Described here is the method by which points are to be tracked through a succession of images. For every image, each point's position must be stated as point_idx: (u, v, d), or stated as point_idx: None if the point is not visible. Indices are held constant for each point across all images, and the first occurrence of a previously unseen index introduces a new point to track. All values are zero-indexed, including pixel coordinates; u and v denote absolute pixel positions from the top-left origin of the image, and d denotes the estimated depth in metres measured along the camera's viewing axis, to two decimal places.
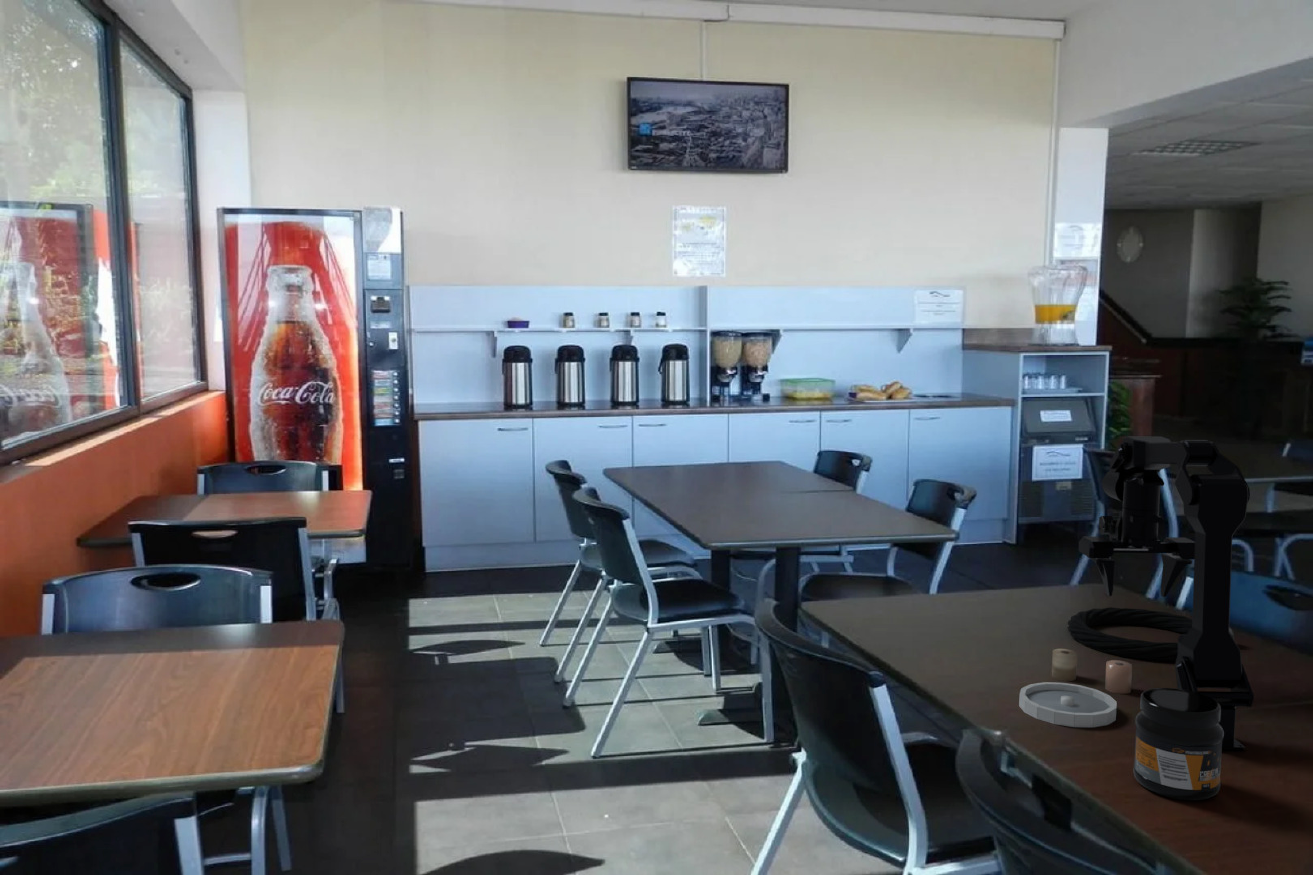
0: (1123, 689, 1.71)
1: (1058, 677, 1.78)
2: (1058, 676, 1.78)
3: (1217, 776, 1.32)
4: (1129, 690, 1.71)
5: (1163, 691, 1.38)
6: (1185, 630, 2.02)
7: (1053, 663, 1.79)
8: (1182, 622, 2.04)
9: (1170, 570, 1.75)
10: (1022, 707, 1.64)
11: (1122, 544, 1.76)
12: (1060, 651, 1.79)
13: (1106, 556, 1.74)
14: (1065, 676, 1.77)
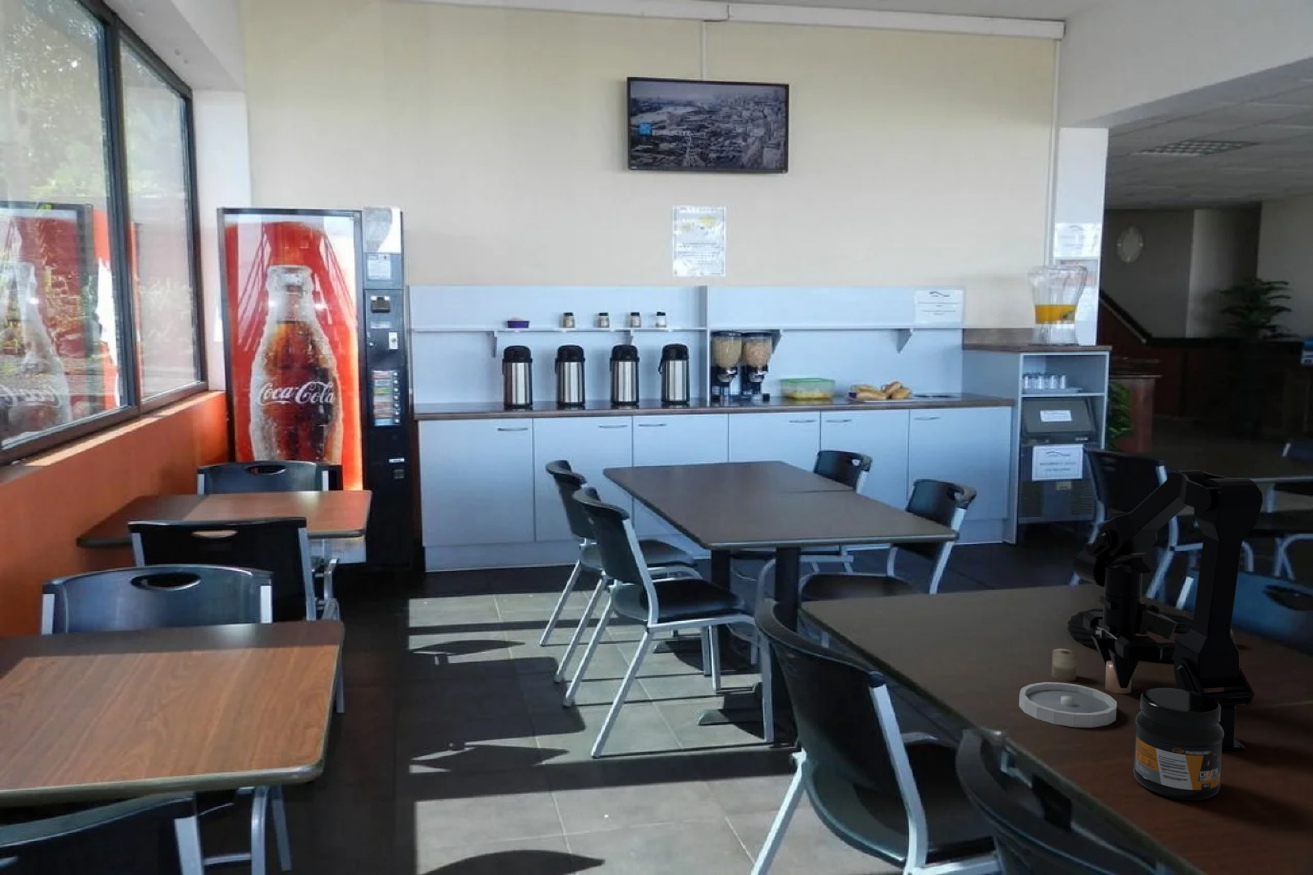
0: (1123, 689, 1.71)
1: (1058, 677, 1.78)
2: (1058, 676, 1.78)
3: (1217, 776, 1.32)
4: (1129, 690, 1.71)
5: (1163, 691, 1.38)
6: (1185, 630, 2.02)
7: (1053, 663, 1.79)
8: (1182, 622, 2.04)
9: None
10: (1022, 707, 1.64)
11: None
12: (1060, 651, 1.79)
13: (1087, 628, 1.79)
14: (1065, 676, 1.77)
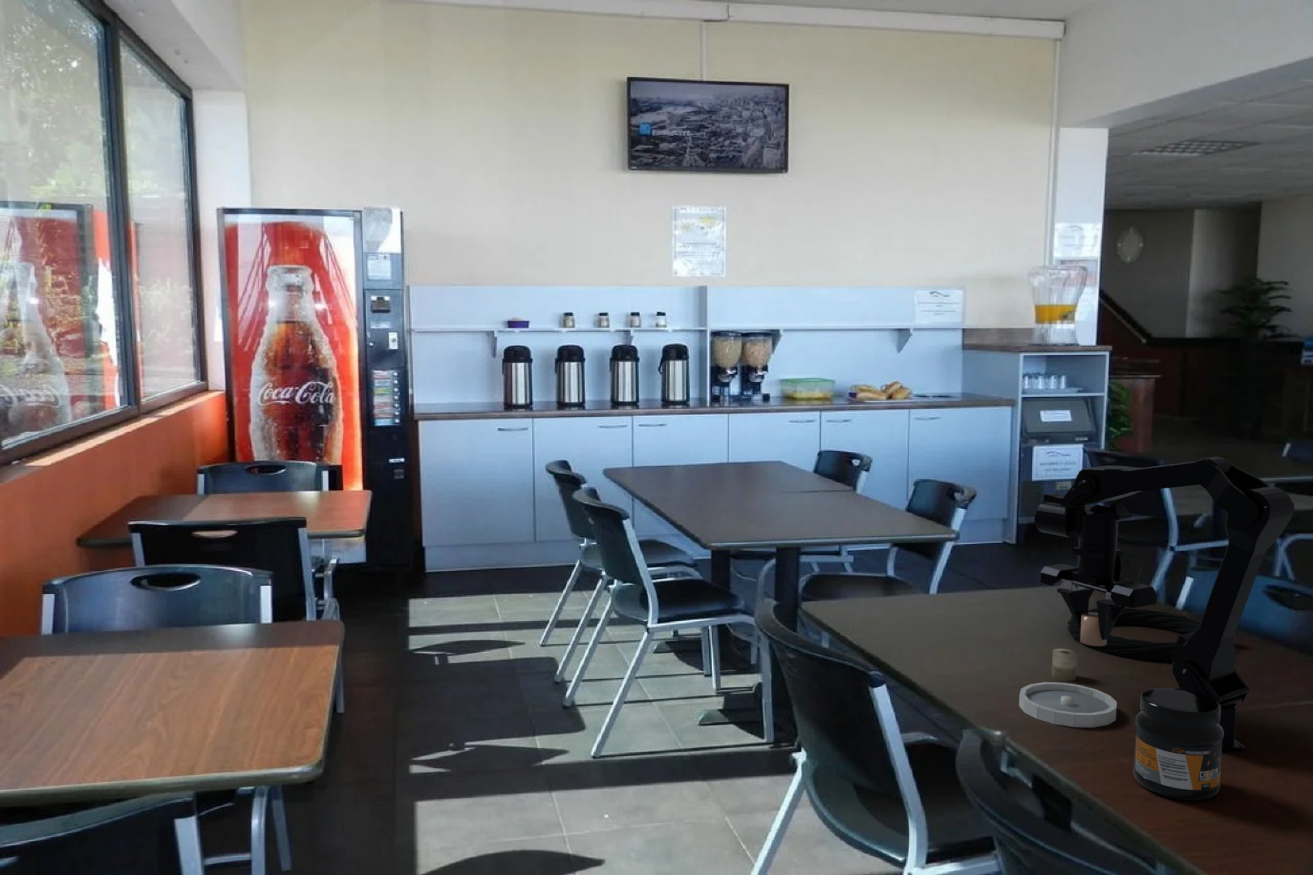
0: (1104, 640, 1.65)
1: (1058, 677, 1.78)
2: (1058, 676, 1.78)
3: (1217, 776, 1.32)
4: (1106, 641, 1.66)
5: (1163, 691, 1.38)
6: (1185, 630, 2.02)
7: (1053, 663, 1.79)
8: (1182, 622, 2.04)
9: None
10: (1022, 707, 1.64)
11: None
12: (1060, 651, 1.79)
13: (1050, 583, 1.70)
14: (1065, 676, 1.77)
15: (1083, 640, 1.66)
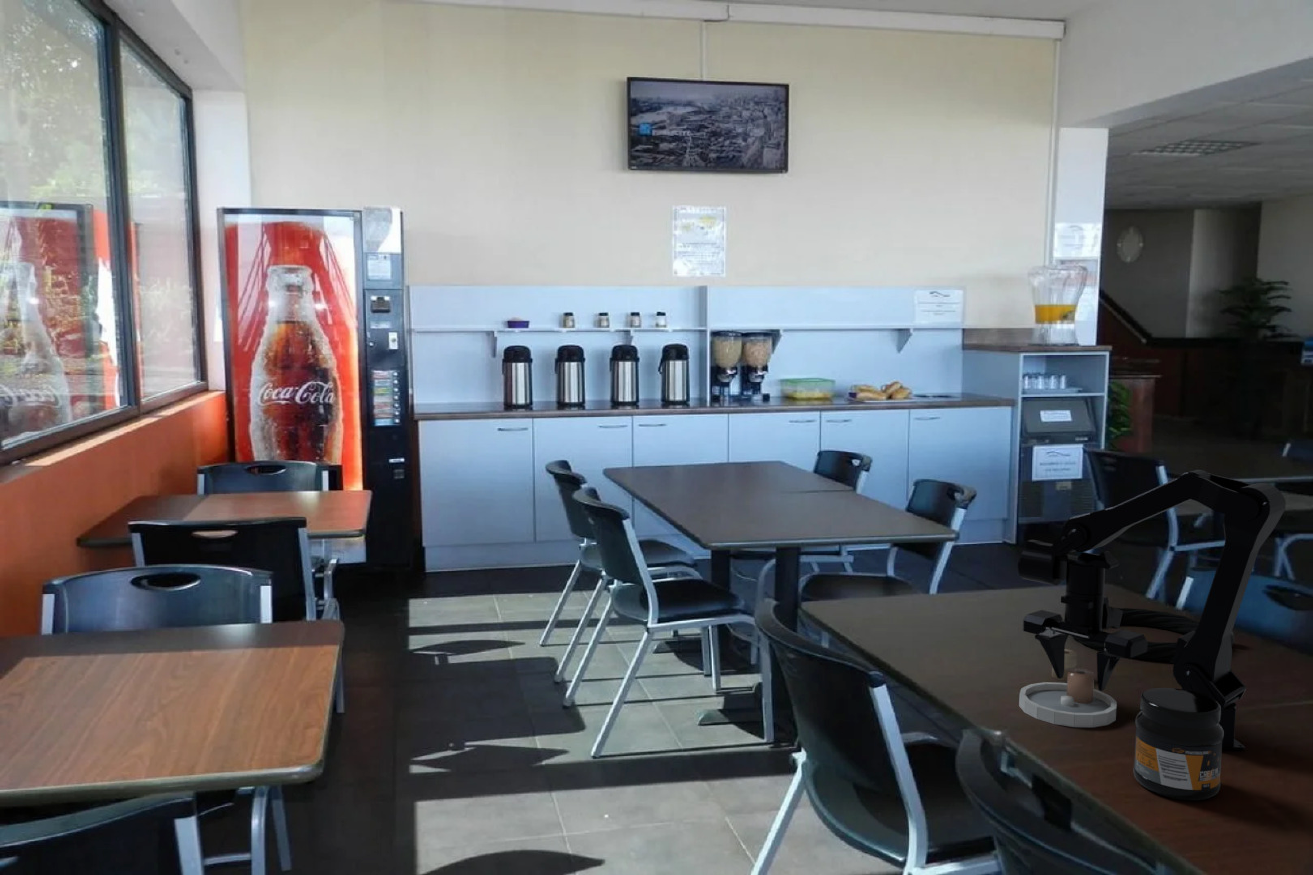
0: (1091, 697, 1.64)
1: None
2: None
3: (1217, 776, 1.32)
4: None
5: (1163, 691, 1.38)
6: (1185, 630, 2.02)
7: None
8: (1182, 622, 2.04)
9: None
10: (1022, 707, 1.64)
11: None
12: None
13: (1035, 632, 1.68)
14: (1065, 676, 1.77)
15: None
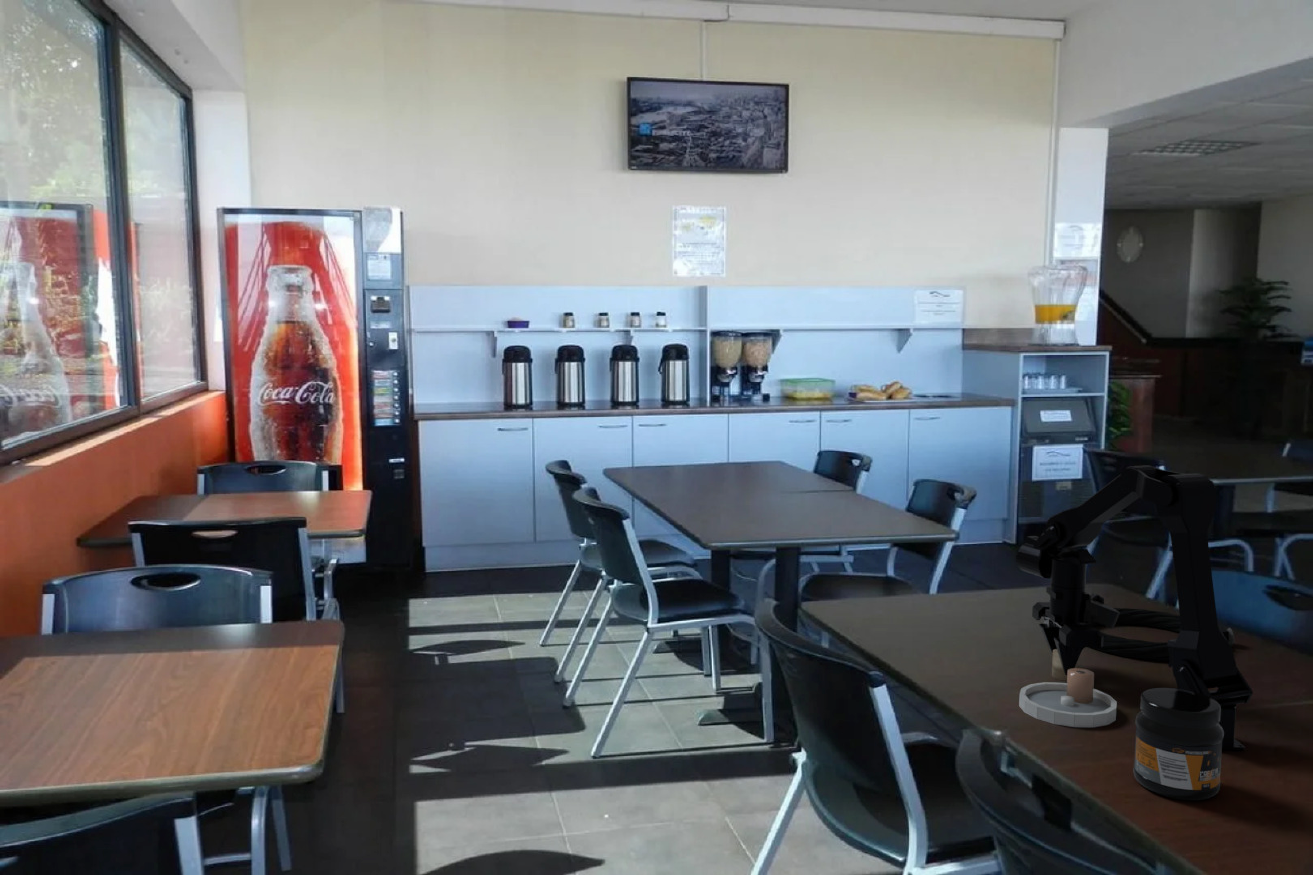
0: (1091, 697, 1.64)
1: (1058, 677, 1.78)
2: (1058, 676, 1.78)
3: (1217, 776, 1.32)
4: None
5: (1163, 691, 1.38)
6: None
7: (1053, 663, 1.79)
8: None
9: None
10: (1022, 707, 1.64)
11: None
12: None
13: (1036, 617, 1.85)
14: (1065, 676, 1.77)
15: None
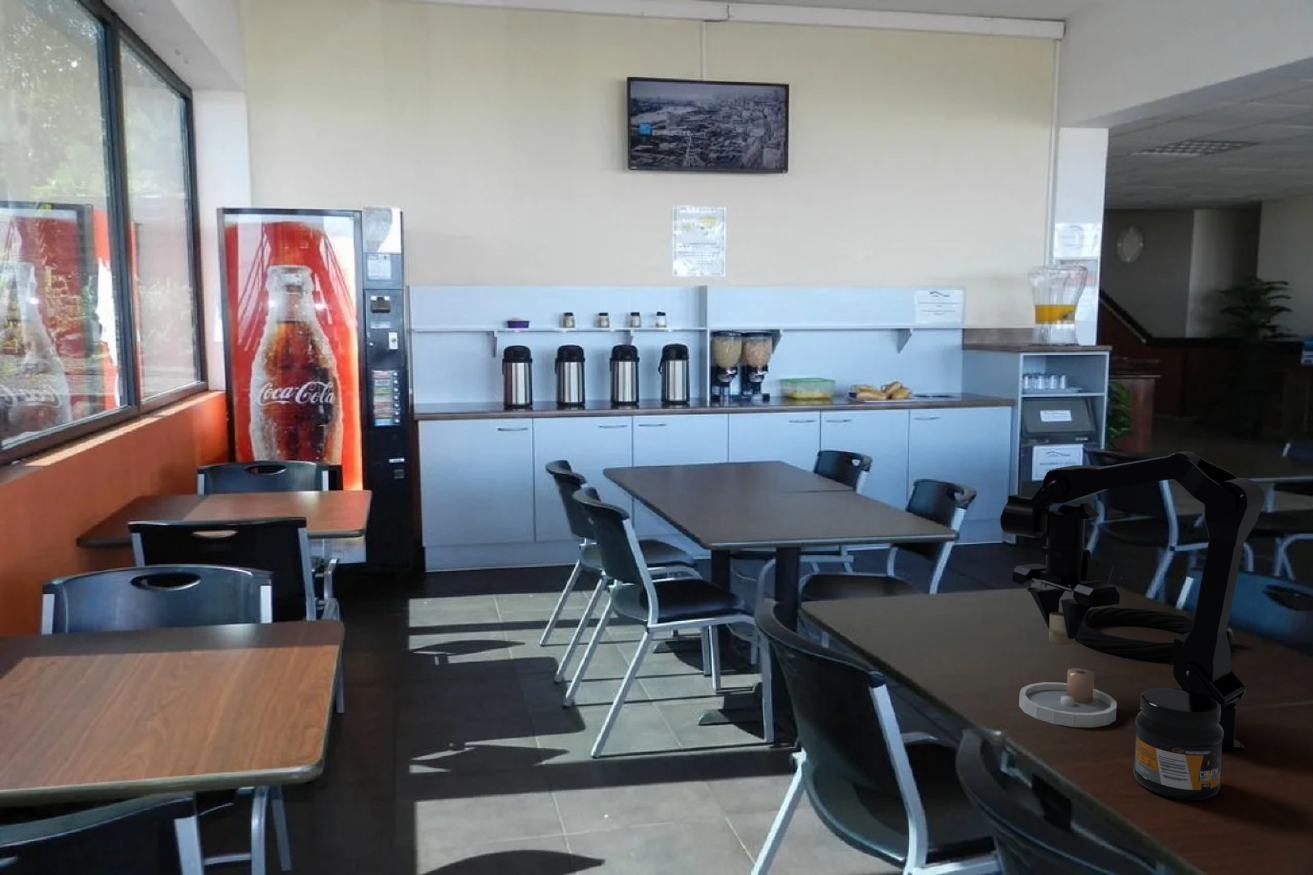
0: (1091, 697, 1.64)
1: (1061, 642, 1.66)
2: (1060, 641, 1.66)
3: (1217, 776, 1.32)
4: None
5: (1163, 691, 1.38)
6: (1185, 630, 2.02)
7: (1053, 628, 1.67)
8: (1182, 622, 2.04)
9: None
10: (1022, 707, 1.64)
11: None
12: (1057, 614, 1.68)
13: (1021, 582, 1.72)
14: (1068, 640, 1.66)
15: None
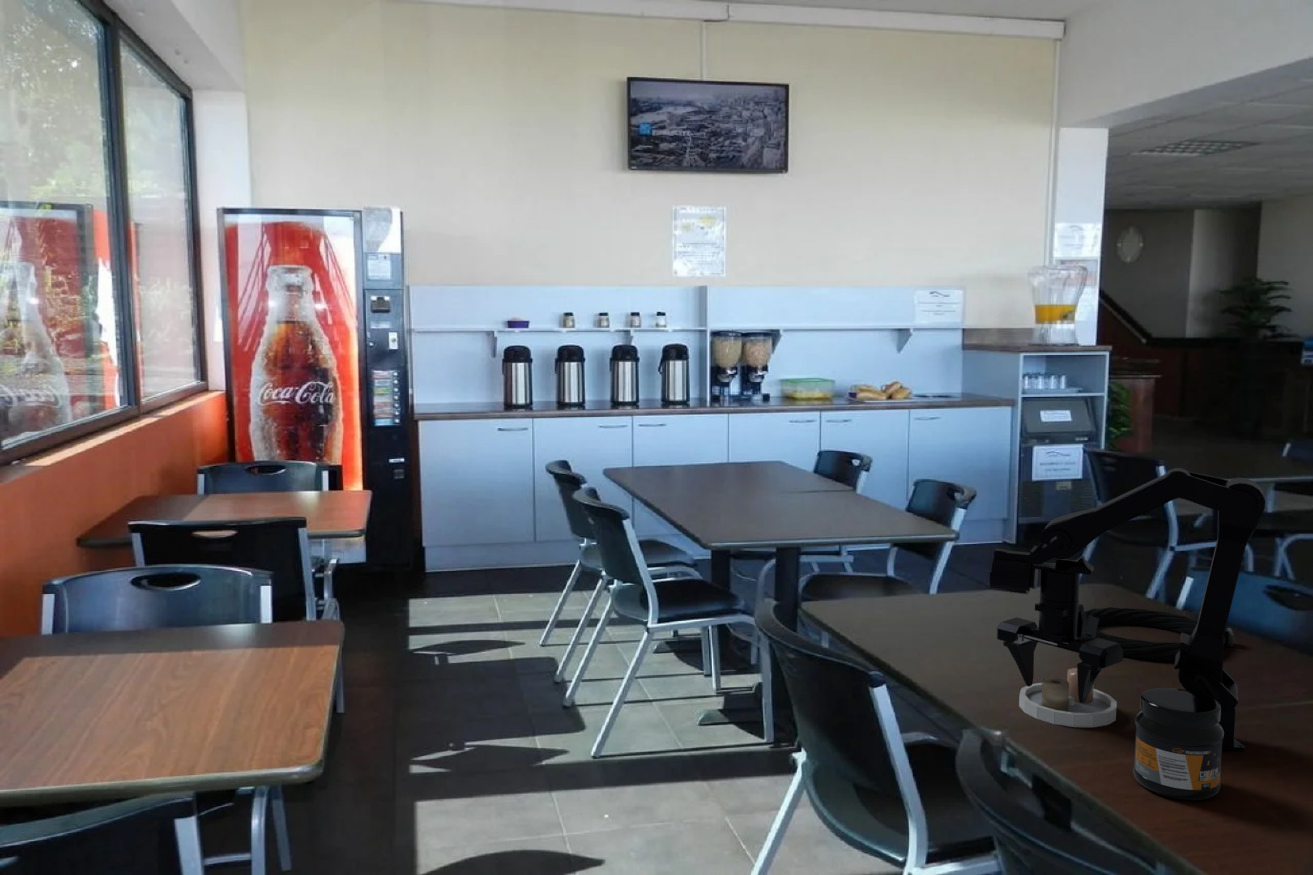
0: (1091, 697, 1.64)
1: None
2: None
3: (1217, 776, 1.32)
4: None
5: (1163, 691, 1.38)
6: (1185, 630, 2.02)
7: (1049, 697, 1.59)
8: (1182, 622, 2.04)
9: None
10: (1022, 707, 1.64)
11: None
12: (1050, 681, 1.61)
13: (1009, 640, 1.64)
14: (1064, 708, 1.59)
15: None
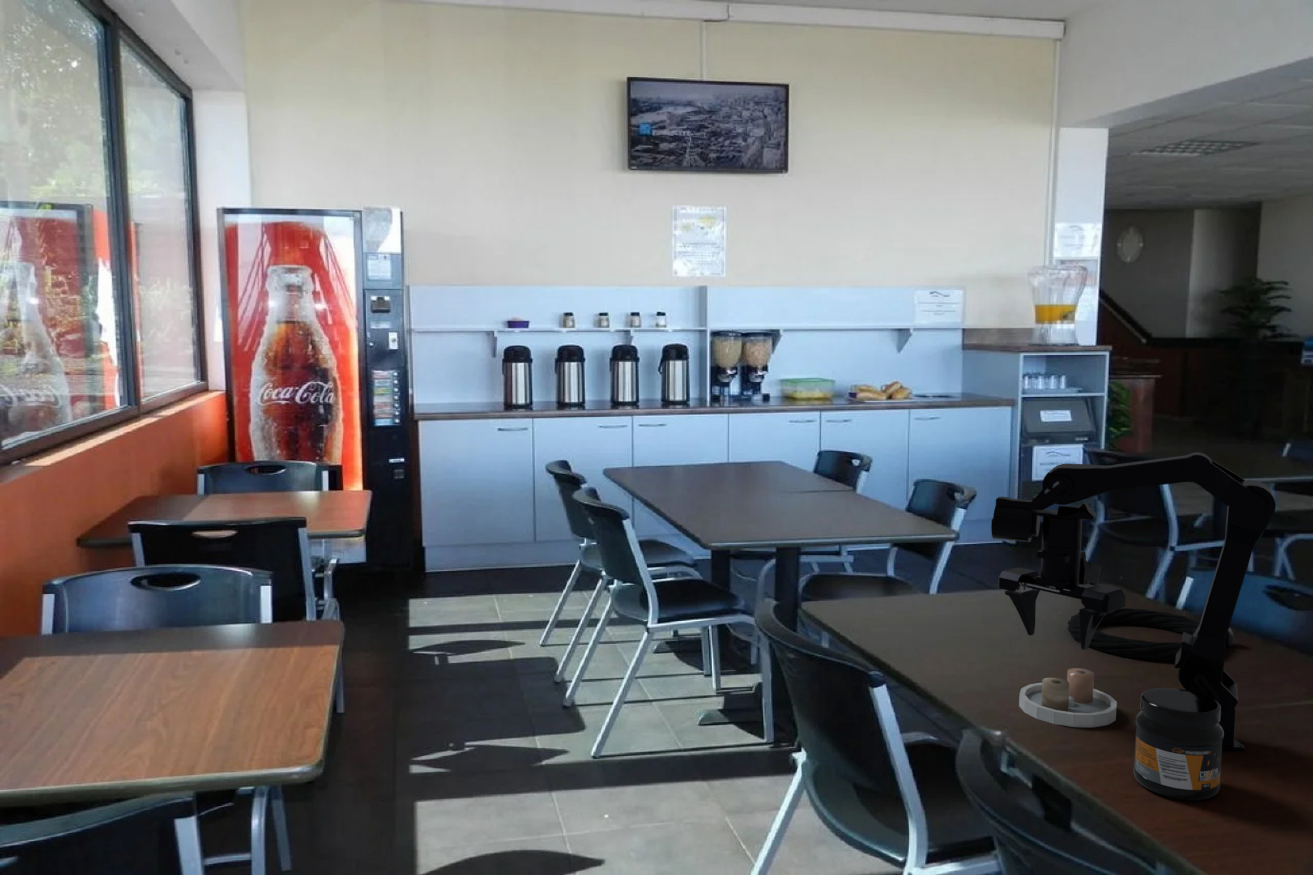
0: (1091, 697, 1.64)
1: None
2: None
3: (1217, 776, 1.32)
4: None
5: (1163, 691, 1.38)
6: (1185, 630, 2.02)
7: (1049, 697, 1.59)
8: (1182, 622, 2.04)
9: None
10: (1022, 707, 1.64)
11: None
12: (1050, 681, 1.61)
13: (1010, 588, 1.63)
14: (1064, 708, 1.59)
15: None
